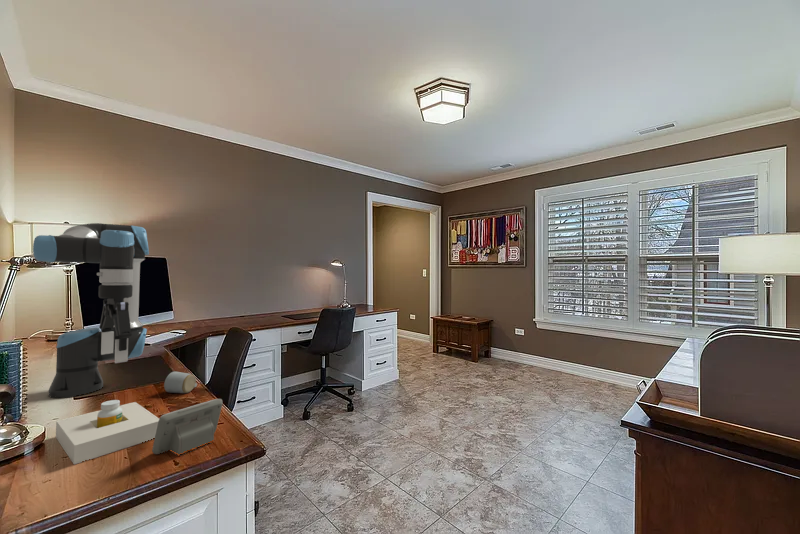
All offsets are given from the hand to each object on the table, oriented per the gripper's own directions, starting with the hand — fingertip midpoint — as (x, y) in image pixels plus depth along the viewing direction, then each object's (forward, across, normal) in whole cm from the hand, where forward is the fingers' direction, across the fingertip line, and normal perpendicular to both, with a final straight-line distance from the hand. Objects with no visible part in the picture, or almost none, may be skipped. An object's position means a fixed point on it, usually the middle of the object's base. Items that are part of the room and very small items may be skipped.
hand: (113, 357), depth 98 cm
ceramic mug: (+22, -22, +27) cm, 41 cm away
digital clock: (+21, +25, +11) cm, 34 cm away
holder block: (+21, +3, -1) cm, 21 cm away
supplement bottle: (+21, +3, -1) cm, 22 cm away
